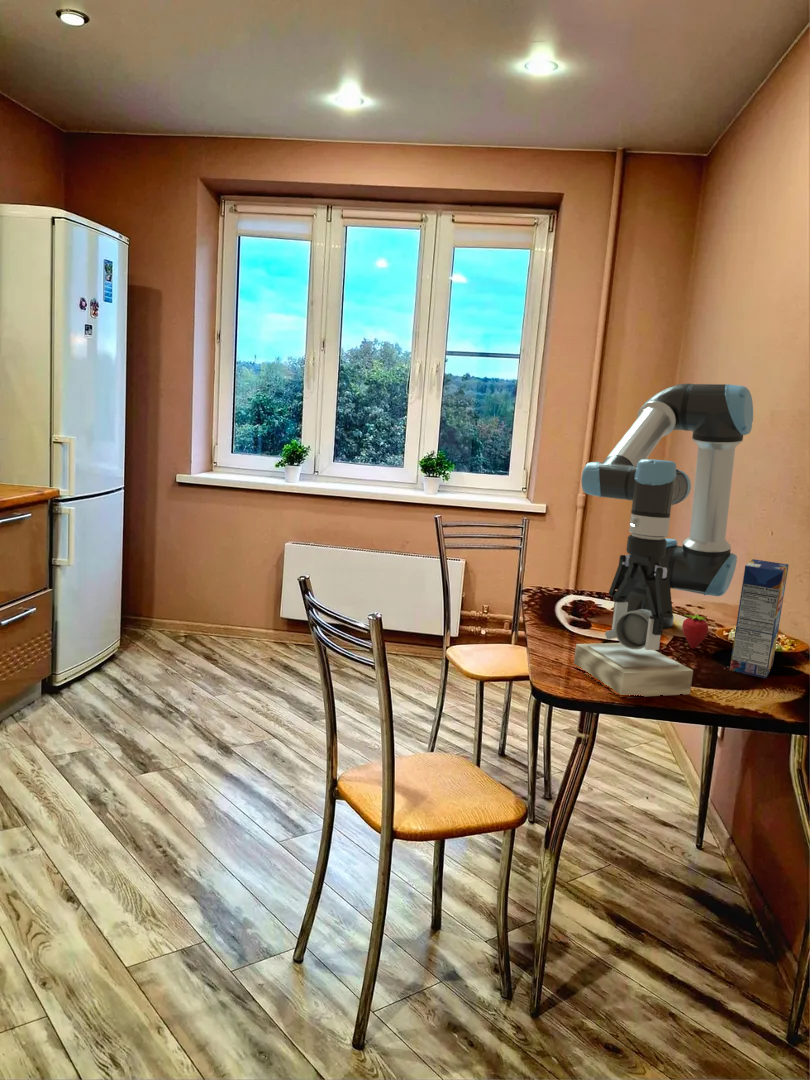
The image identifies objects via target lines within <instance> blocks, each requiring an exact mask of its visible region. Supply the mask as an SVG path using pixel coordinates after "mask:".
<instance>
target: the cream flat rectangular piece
mask: <svg viewBox="0 0 810 1080" xmlns="http://www.w3.org/2000/svg"><path fill="white" fill-rule="evenodd" d="M573 658H574V659H573V665H574V664H576V665H577V666H579V667H581V668H582V669H583V670H585V671H586V672H588V673H589V674H591V675H592V676H594V677H595V678H597V679H598V680H600V681H601V682H603V683H604V684H605V685H607V686H609V687H610V688H612V689H613V690H614V691H616V692H617V693H619V694H620V695H629V696H630V695H634V696H635V695H636V696H637V695H639V696H640V695H641V696H644V697H658V696H659V697H661V696H660V695H663V696H679V695H680V694H683V695H690V694H691V688H692V681H693V673H694V670H693V669H691V668H689V667H688V666H685V665H684V664H682V663H680V662H678V661H677V660H674V659H673V658H671V657H668V656H667V655H664V654H662V653H661V652H659V651H658V650H646V649H645V647H643V648H641V649H630V648H627V647H625V646H624V645H622V644H621V643H620V642H605V643H576V644H575V650H574V657H573Z"/></svg>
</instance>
